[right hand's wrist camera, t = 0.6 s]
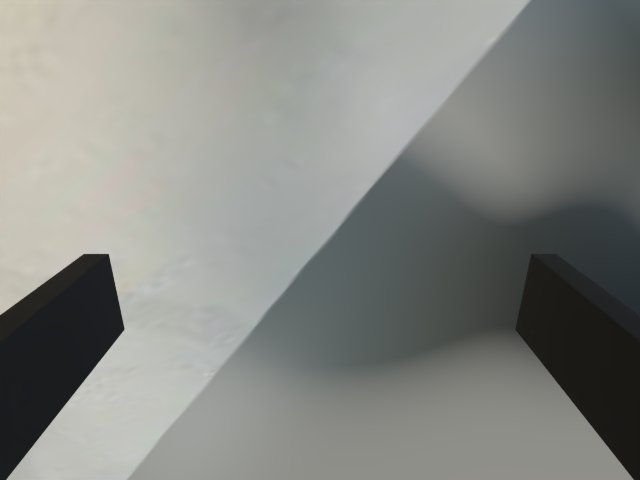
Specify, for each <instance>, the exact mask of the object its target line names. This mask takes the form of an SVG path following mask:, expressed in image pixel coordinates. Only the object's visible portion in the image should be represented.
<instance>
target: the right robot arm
mask: <svg viewBox="0 0 640 480" xmlns="http://www.w3.org/2000/svg"><path fill="white" fill-rule="evenodd" d="M123 331H124V325H123V320H122V315H121V310H120V306H119V301H118V296H117V291H116V287H115V282H114V277H113V272H112V268H111V263H110V258H109V254H83V255H82V256H81V257H79V258H78V259H77V260H75V261H74V262H72V263H71V264H70V265H68V266H67V267H66V268H64V269H63V270H62V271H60V272H59V273H57V274H56V275H55V276H53V277H52V278H51V279H49V280H48V281H46V282H45V283H44V284H42V285H41V286H40V287H38V288H37V289H36V290H34V291H33V292H31V293H30V294H29V295H27V296H26V297H25V298H23V299H22V300H20V301H19V302H18V303H16V304H15V305H14V306H12V307H11V308H10V309H8V310H7V311H5V312H4V313H3V314H1V315H0V480H6V479H7V478H8V477H9V475H10V474H11V473H12V471H13V470H14V469H15V468H16V466H17V465H18V464H19V463H20V461H21V460H22V459H23V458H24V456H25V455H26V454H27V452H28V451H29V450H30V449H31V447H32V446H33V445H34V444H35V442H36V441H37V440H38V439H39V437H40V436H41V435H42V433H43V432H44V431H45V430H46V428H47V427H48V426H49V425H50V423H51V422H52V421H53V419H54V418H55V417H56V416H57V414H58V413H59V412H60V411H61V409H62V408H63V407H64V406H65V404H66V403H67V402H68V400H69V399H70V398H71V397H72V395H73V394H74V393H75V392H76V390H77V389H78V388H79V387H80V385H81V384H82V383H83V381H84V380H85V379H86V378H87V376H88V375H89V374H90V373H91V371H92V370H93V369H94V367H95V366H96V365H97V364H98V362H99V361H100V360H101V359H102V357H103V356H104V355H105V354H106V352H107V351H108V350H109V348H110V347H111V346H112V345H113V343H114V342H115V341H116V340H117V338H118V337H119V336H120V335H121V333H122V332H123ZM516 331H517V332H518V333H519V335H520V336H521V337H522V338H523V340H524V341H525V342H526V343H527V345H528V346H529V347H530V348H531V350H532V351H533V352H534V353H535V355H536V356H537V357H538V359H539V360H540V361H541V362H542V364H543V365H544V366H545V367H546V369H547V370H548V371H549V373H550V374H551V375H552V376H553V378H554V379H555V380H556V381H557V383H558V384H559V385H560V387H561V388H562V389H563V390H564V392H565V393H566V394H567V395H568V397H569V398H570V399H571V400H572V402H573V403H574V404H575V405H576V407H577V408H578V409H579V411H580V412H581V413H582V414H583V416H584V417H585V418H586V419H587V421H588V422H589V423H590V425H591V426H592V427H593V428H594V430H595V431H596V432H597V433H598V435H599V436H600V437H601V439H602V440H603V441H604V442H605V444H606V445H607V446H608V447H609V449H610V450H611V451H612V452H613V454H614V455H615V456H616V457H617V459H618V460H619V461H620V463H621V464H622V465H623V466H624V468H625V469H626V470H627V471H628V473H629V474H630V475H631V477H632V478H633V479H634V480H640V315H639V314H637V313H636V312H635V311H633V310H632V309H630V308H629V307H628V306H626V305H625V304H624V303H622V302H621V301H620V300H618V299H617V298H615V297H614V296H613V295H611V294H610V293H609V292H607V291H606V290H604V289H603V288H602V287H600V286H599V285H598V284H596V283H595V282H594V281H592V280H591V279H589V278H588V277H587V276H585V275H584V274H583V273H581V272H580V271H578V270H577V269H576V268H574V267H573V266H572V265H570V264H569V263H567V262H566V261H565V260H563V259H562V258H561V257H559V256H558V255H557V254H531V258H530V263H529V268H528V272H527V277H526V282H525V287H524V291H523V296H522V301H521V306H520V310H519V315H518V320H517V325H516Z"/></svg>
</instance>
